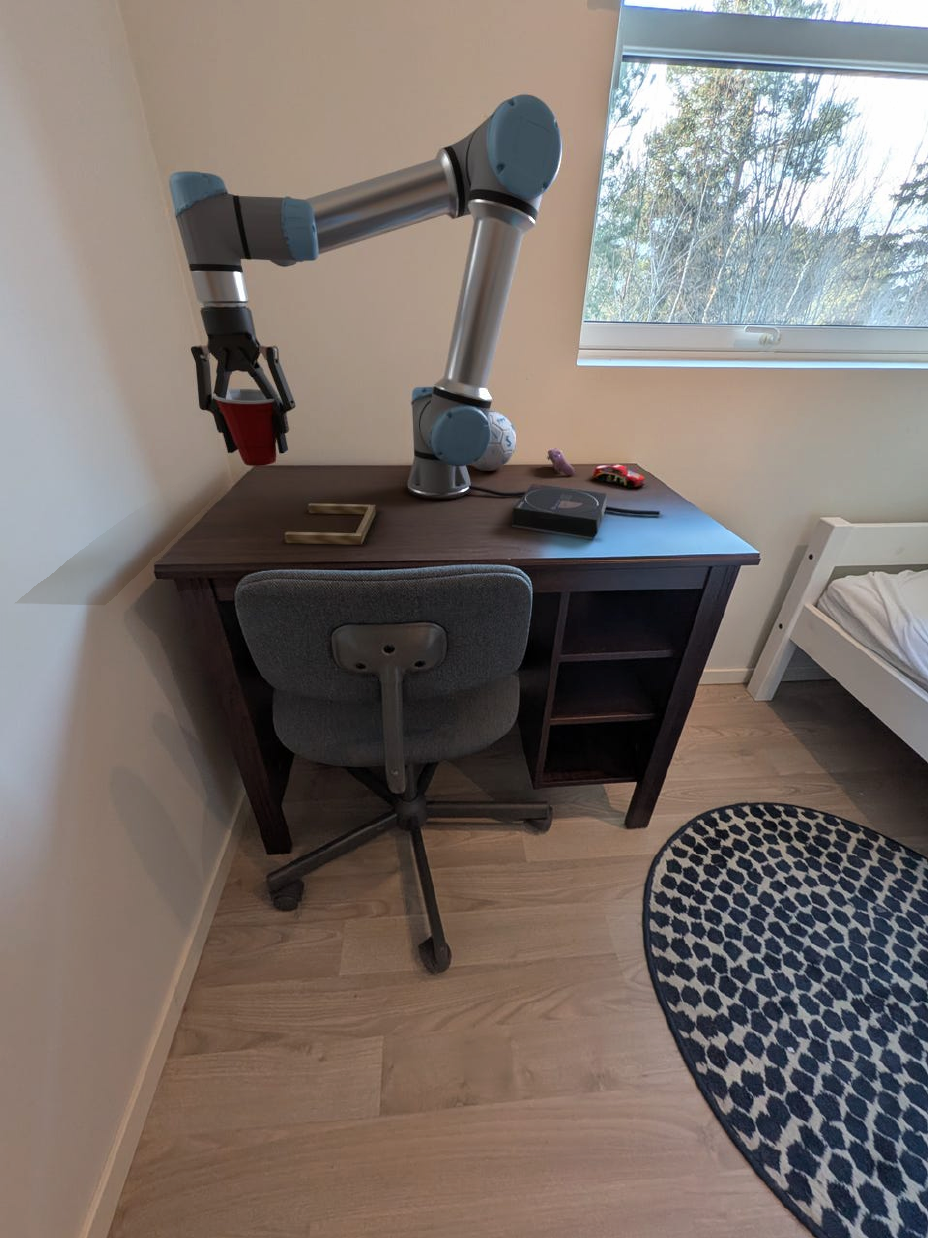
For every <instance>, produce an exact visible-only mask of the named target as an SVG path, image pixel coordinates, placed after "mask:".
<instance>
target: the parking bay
mask: <svg viewBox="0 0 928 1238" xmlns="http://www.w3.org/2000/svg"><path fill="white" fill-rule="evenodd" d="M307 507H308V513H309V514H327V515H328V514H329V515H332V514H333V515H340V514H341V515H364V516H363V518H362V520H361V522H360V523H359V526H358V528H357V529H356V531H355V532H319V531H318V532H316V531H313V532H312V531H310V532H309V531H286V532H285V533H284V538H285V542H286V544H308V545H309V544H310V545H312V544H313V545H315V544H316V545H317V544H318V545H353V546H354V545H356V546H357V545H361V546H362V545H363V542H364V540H365V538H366V536H367V534H368V531H369V529H370V527H371V525H372V522H373V521H374V518H375V516H376V514H377V505H376V504H359V503H358V504H355V503H354V504H353V503H352V504H351V503H313V502H311V503H309V504H308V505H307Z"/></svg>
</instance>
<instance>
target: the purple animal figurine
mask: <svg viewBox="0 0 928 1238" xmlns="http://www.w3.org/2000/svg"><path fill="white" fill-rule="evenodd" d="M547 454H548V455H546V459H547V460H548V461H551V463H552V466H553V468H554V470H555V471H556V472H557V473H558V474H559V473H563V474H564V475H566V476H573V475H574V474H575V469H574V467H573V466H572V465H571V464H569V462H568V461H567V459H566V458H565V456H564V454H563V451H562V450H561V449H560V448H556V447H555V448H551V449H549V450H547Z"/></svg>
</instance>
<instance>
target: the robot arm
mask: <svg viewBox="0 0 928 1238" xmlns="http://www.w3.org/2000/svg"><path fill="white" fill-rule="evenodd" d="M562 153H563V141H562V135H561V130H560V127H559V125H558V122H557V119H556V116H555V115H554V113H553V111H552V110H551V108H550V107H549V105H548V104H547V103H546V102H545V101H544V100H542V99H541V98H539V97H538V96H535V95H532V94H526V93H523V94H518V95H515V96H513V97H511V98H508V99H506V100H503V102H501V103H500V104H498V106H497V107H496V108H495V110H494V111H493V112H492V114H491V115H489V117H487V118H486V119H485V120H484V121H483V122H482V123H481V124H479V125H478V126H477V127H476V128H475V129H474V130H473V131H472V132H470V133H469V134H468V135H466V136H465V137H463V138H462V139H460V140H459V141H456V142H454V143H453V144H451V145H448V146H445V147H441V148H438V150H437V153H436V155H435V158H434V159H430V160H427V161H424V162H421V163H417V164H414V165H410V166H408V167H405V168H401V169H398V170H394V171H392V172H388V173H385V174H382V175H379V176H375V177H373V178H370V179H366V180H363V181H360V182H357V183H354V184H350V185H347V186H344V187H341V188H337V189H334V190H331V191H327V192H324V193H321V194H319V195H315V196H312V197H311V196H310V197H309V198H305V199H302V198H293V197H291V196H287V195H285V196H284V197H281V196H280V197H279V196H278V197H276V196H272V197H271V196H254V195H253V196H250V195H249V196H248V195H247V196H246V195H238V194H237V195H235V194H233V193H229V191H228V189H227V187H226V183H225V181H224V180H223V178H222V177H220V176H219V175H217V174H214V173H209V172H201V171H193V170H192V171H190V170H189V171H188V170H184V171H177V172H174V173H172V174H171V175H170V176H169V179H168V186H169V190H170V193H171V194H170V195H171V199H172V204H173V209H174V218H175V221H176V223H177V227H178V230H179V235H180V238H181V241H182V245H183V249H184V252H185V256H186V260H187V264H188V268H189V271H190V275H191V279H192V284H193V288H194V292H195V296H196V301H197V302H198V303H200V304H202V307H200V309H199V312H200V315H201V320H202V324H203V327H204V331H205V333H206V336H207V344H206V345H201V344H200V345H193V346H191V347H190V352H191V355H192V357H193V360H194V363H195V374H196V384H197V396H198V407H199V409H200V410H201V411H206V412H209V413H211V414H212V416H213V419H214V423H215V426H216V430H217V432H218V433H219V434H222V436H223V439H224V444H225V447H226V451H227V453H228V454H233V453H235V452H236V451H238V448H237V446H236V445H235V442H234V440H233V438H232V435H231V433H230V430H229V428H228V425H227V423H226V420H225V418H224V415H223V414H222V412H221V409H220V408H219V405H218V403H217V401H216V399H214V398H213V393H215V394H216V396H217V397H219V398H224V399H226V395H227V389H229V385H230V379H231V375H232V373H233V372H237V371H238V372H241V373H244V372H245V373H247V374H248V375H249V376H250V377H251V378H252V379H253V380H254V382H255V384H256V385H257V387H258V388H259V390H261V391H262V393H263V394H264V396H265V397H266V399H267V400H269V399H274V402H273V404H272V408H273V410H274V411H275V414H273V415H272V420H273V425H274V430H275V435H276V445H277V448H278V454H285V453H287V451H289V447H288V442H287V436H286V434H288V433H289V431H290V427H289V422H288V421H289V420H288V414H287V413H288V412H290V411H292V410H294V409H295V408H296V402H295V399H294V397H293V395H292V392H291V388H290V386H289V384H288V381H287V378H286V375H285V373H284V371H283V368H282V364H281V363H280V362H281V361H280V353H279V352H280V351H279V348H278V347H277V345H270V346H268V345H262V344H261V343H260V342H259V340H258V338H257V334H256V328H255V322H254V317H253V314H252V310H251V309H250V307H247V304H248V303H249V301H250V299H249V295H248V289H247V286H246V285H247V284H246V280H245V276H244V270H243V267H242V260H247V261H251V260H255V261H256V260H259V261H270V262H271V263H273V264H275V265H276V266H279V267H284V268H286V267H291V266H294V265H296V264H297V263H303V262H313V261H316V260H317V259H318V258H319V255H322V254H325V253H328V252H332V251H334V250H338V249H341V248H344V247H347V246H351V245H353V244H357V243H360V242H363V241H366V240H369V239H373V238H375V237H379V236H381V235H385V234H389V233H391V232H395V231H397V230H401V229H404V228H406V227H411V226H413V225H416V224H420V223H423V222H426V221H429V220H432V219H435V218H439V217H441V216H444V215H446V216H448V217H449V218H450V219H451V220H455V219H459V218H461V217H465V216H470V215H471V217H472V221H473V224H472V228H471V234H470V239H469V244H468V248H467V249H468V250H467V255H466V259H465V264H464V269H463V270H464V271H463V276H462V280H461V286H460V290H459V296H458V300H457V301H458V302H457V305H456V311H455V316H454V322H453V326H452V327H453V328H452V331H451V336H450V343H449V348H448V353H447V359H446V362H445V363H446V364H445V368H444V374H443V376H442V378H440V379H438V380H437V382H435V383H434V384H433V386H416V387H414V388H413V389H412V391H411V401H410V404H411V413H412V415H411V416H412V435H413V436H412V437H413V461H412V463H411V467H410V472H409V476H408V480H407V491H408V493H409V494H410V495H412V496H414V497H416V498H420V499H425V500H433V501H447V500H454V499H455V500H456V499H459V498H462V497H465V496H467V495H468V494H469V493H471V491H478V492H483V493H487V494H491V495H494V496H501V497H517V496H523V495H524V494H525V493H526V491H527V490H525V491H523V490H522V491H509V492H507V491H506V492H505V491H497V490H494V489H490V488H486V487H481V486H475V485H471V484H472V482H471V478H470V475H469V472H468V468H467V466H470V465H471V464H472V463H474V462H476V461H477V460H479V459H480V458H481V457H482V456H483V455H484V453H485V452H486V450H487V449H488V446H489V444H490V440H491V428H490V424H489V421H488V415H489V411H491V406H492V402H493V397H492V396H491V393H490V392H489V389H488V385H489V381H490V376H491V373H492V368H493V364H494V360H495V356H496V352H497V347H498V344H499V339H500V338H499V337H500V335H501V330H502V327H503V322H504V318H505V314H506V309H507V306H508V302H509V301H508V300H509V297H510V292H511V288H512V284H513V279H514V276H515V271H516V267H517V263H518V259H519V254H520V250H521V246H522V241H523V238H524V236H525V235H526V234H528V232H529V231H530V230H532V229H533V228H535V225H536V221H537V219H538V218H537V217H538V213H539V210H540V205H541V202H542V198H543V194H545V193H546V192H547V191H548V190H549V189H550V188H551V185H552V184H553V183H554V181H555V179H556V177H557V175H558V172H559V169H560V166H561V161H562V155H563V154H562ZM211 355H212V357H214V359H215V360H216V361H217V363H216V369H215V372H216V377H215V382H214V387H213V389H212V376H211V363H210V359H211ZM260 355H262V357H263V359H264V360H265V361H266V363H267V366H268V369H269V373H270V374H271V377H272V380H273V382H274V385H275V387H276V389H275V388H274V386H273V385H272V384H271V382H270V380H269V378H268V377H267V376H266V374H265V372H264V369H263V367H262V365H261V364H260V362H259V361H258V360H259V358H260ZM212 390H213V391H212ZM276 390H277V391H276ZM277 392H278V393H277ZM278 394H279V396H278ZM277 397H279V398H278V399H276V400H275V398H277ZM605 511H609V512H614V513H620V514H627V515H628V514H629V515H645V516H647V515H649V516H660V514H661V513H660V512H661V511H660V510H642V509H641V510H640V509H629V508H622V507H621V508H620V507H619V508H618V507H615V506H608V505H607V506H606V509H605Z"/></svg>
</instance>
